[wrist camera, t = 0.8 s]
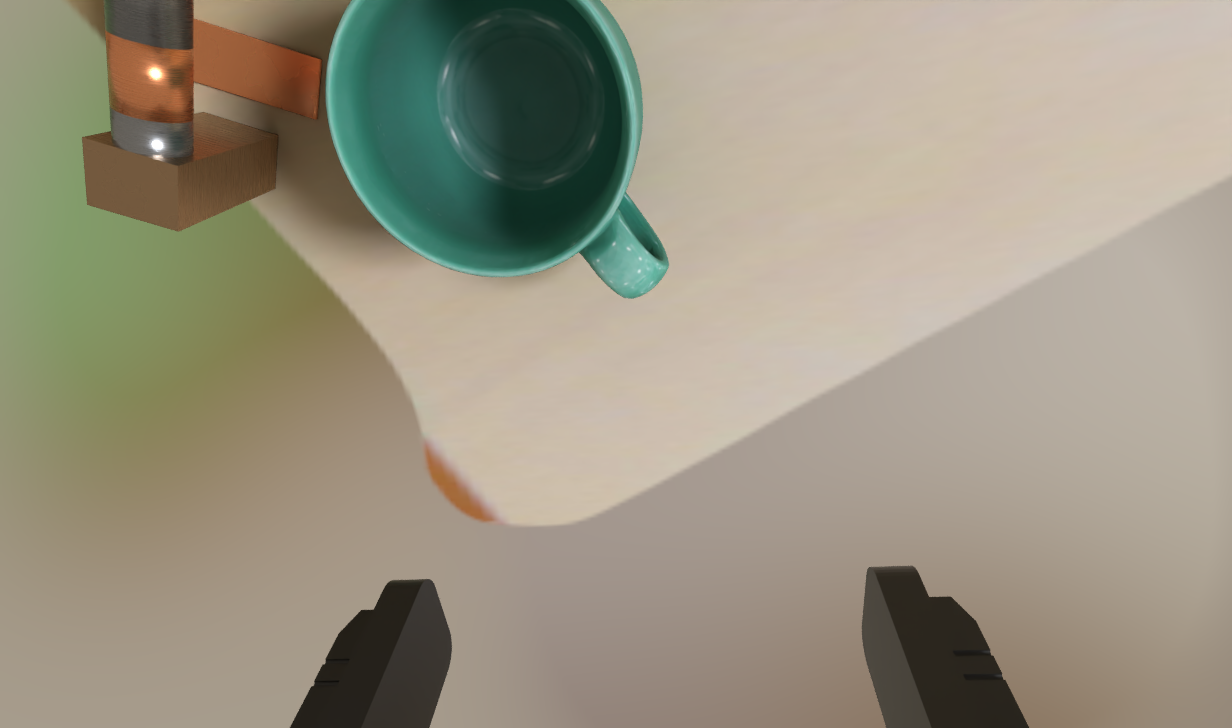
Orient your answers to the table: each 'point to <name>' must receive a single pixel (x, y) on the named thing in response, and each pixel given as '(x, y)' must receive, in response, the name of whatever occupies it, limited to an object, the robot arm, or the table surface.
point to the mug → (495, 134)
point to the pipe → (187, 114)
